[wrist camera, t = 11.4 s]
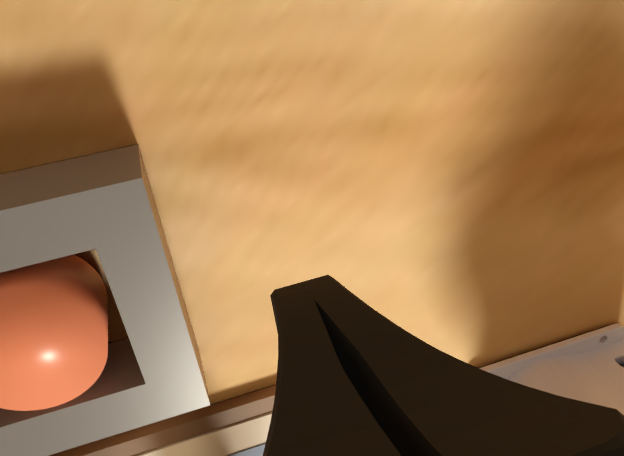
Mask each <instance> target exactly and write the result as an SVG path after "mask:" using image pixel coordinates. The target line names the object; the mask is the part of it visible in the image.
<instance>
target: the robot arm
mask: <svg viewBox="0 0 624 456" xmlns="http://www.w3.org/2000/svg"><path fill="white" fill-rule="evenodd" d="M270 296H271V301H272V306H273V311H274V316H275V321H276V326H277V331H278V369H277V382H276V391H275V398H274V405H273V411H272V416H271V422H270V426H269V431H268V435H267V440H266V444H265V448H264V452H263V456H624V326H622V325H621V324H619V323H617V324H613V325H610V326H607V327H604V328H601V329H598V330H594V331H591V332H588V333H585V334H582V335H579V336H576V337H573V338H570V339H567V340H564V341H561V342H558V343H555V344H552V345H549V346H546V347H543V348H540V349H537V350H534V351H531V352H528V353H525V354H521V355H518V356H515V357H512V358H509V359H506V360H503V361H500V362H497V363H494V364H491V365H488V366H485V367H482V368H476V367H474V366H472V365H470V364H467V363H465V362H463V361H461V360H458V359H456V358H454V357H452V356H450V355H448V354H446V353H444V352H442V351H440V350H438V349H436V348H434V347H432V346H431V345H429V344H427V343H425V342H424V341H422V340H420V339H419V338H417V337H415V336H413V335H412V334H410V333H408V332H407V331H405V330H404V329H402V328H401V327H399V326H397V325H396V324H394V323H393V322H391V321H390V320H389V319H387V318H386V317H384V316H383V315H381V314H380V313H378V312H377V311H375V310H374V309H373V308H371V307H370V306H368V305H367V304H366V303H364V302H363V301H362V300H360V299H359V298H358V297H356V296H355V295H354V294H353V293H351V292H350V291H349V290H347V289H346V288H345V287H344V286H342V285H341V284H340V283H339V282H338V281H336V280H335V279H334V278H332V277H331V276H329V275H326V276H322V277H319V278H315V279H311V280H308V281H304V282H301V283H297V284H294V285H290V286H286V287H283V288H279V289H276V290H274V291H273V293H272V294H271V295H270Z"/></svg>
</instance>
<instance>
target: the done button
mask: <svg viewBox="0 0 624 456" xmlns="http://www.w3.org/2000/svg"><path fill="white" fill-rule="evenodd" d="M107 356H108V296H107V290H106V287H105V284H104V282H103V280H102V278H101V277H100V275H99V274H98V273H97V271H96V270H95V269H94V268H93V267H92V266H91V265H90V264H88V263H87V262H86V261H84V260H83V259H81V258H80V257H78V256H76V255H74V254H73V255H69V256H65V257H61V258H57V259H53V260H49V261H45V262H41V263H37V264H33V265H29V266H25V267H21V268H17V269H13V270H9V271H5V272H1V273H0V408H2V409H7V410H16V411H31V410H41V409H47V408H51V407H55V406H58V405H61V404H64V403H66V402H68V401H70V400H73V399H74V398H76V397H78V396H79V395H81V394H82V393H84V392H85V391H86V390H88V389H89V388H90V387H91V386H92V385H93V384H94V383H95V382H96V380H97V379H98V378H99V376H100V375H101V373H102V371H103V369H104V367H105V364H106V361H107Z"/></svg>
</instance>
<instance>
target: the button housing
mask: <svg viewBox="0 0 624 456" xmlns="http://www.w3.org/2000/svg"><path fill="white" fill-rule="evenodd" d="M93 249H96V251H97V253H98V256H99V259H100V262H101V264H102V267H103V270H104V272H105V275H106V278H107V280H108V283H109V286H110V289H111V291H112V294H113V297H114V299H115V302H116V305H117V307H118V310H119V313H120V316H121V318H122V321H123V324H124V326H125V329H126V332H127V335H128V337H129V338H127V339H123V340H119V341H116V342H112V343H109V344H108V356H107V361H106V364H105V367H104V369H103V371H102V373H101V375H100V376H99V378H98V379H97V380H96V382H95V383H94V384H93V385H92V386H91V387H90V388H89V389H88V390H86V391H85V392H84V393H82V394H81V395H79V396H78V397H76V398H74V399H73V400H70V401H68V402H66V403H64V404H61V405H58V406H55V407H51V408H47V409H41V410H31V411H16V410H7V409H2V408H0V456H49V455H52V454H55V453H58V452H62V451H65V450H68V449H71V448H74V447H78V446H81V445H84V444H87V443H90V442H94V441H97V440H100V439H103V438H106V437H110V436H113V435H116V434H119V433H122V432H126V431H129V430H132V429H135V428H139V427H142V426H145V425H148V424H151V423H155V422H158V421H161V420H164V419H167V418H171V417H174V416H177V415H180V414H183V413H187V412H190V411H193V410H196V409H199V408H203V407H206V406H209V405H210V401H209V396H208V392H207V387H206V382H205V377H204V372H203V367H202V362H201V357H200V353H199V350H198V347H197V343H196V340H195V336H194V333H193V330H192V326H191V323H190V319H189V316H188V313H187V309H186V306H185V302H184V299H183V296H182V292H181V289H180V285H179V282H178V279H177V275H176V272H175V268H174V265H173V262H172V258H171V255H170V251H169V248H168V245H167V241H166V238H165V234H164V231H163V228H162V224H161V221H160V217H159V214H158V211H157V207H156V204H155V200H154V197H153V194H152V190H151V187H150V183H149V180H148V177H147V173H146V170H145V166H144V163H143V160H142V156H141V153H140V149H139V146H138V144H136V145H132V146H127V147H123V148H118V149H114V150H109V151H105V152H100V153H96V154H91V155H87V156H82V157H77V158H73V159H68V160H64V161H59V162H55V163H50V164H46V165H41V166H37V167H32V168H28V169H23V170H19V171H14V172H10V173H5V174H1V175H0V273H1V272H5V271H9V270H13V269H17V268H21V267H25V266H29V265H33V264H37V263H41V262H45V261H49V260H53V259H57V258H61V257H65V256H69V255H73V254H77V253H81V252H85V251H89V250H93Z"/></svg>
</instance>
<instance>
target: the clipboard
mask: <svg viewBox="0 0 624 456" xmlns="http://www.w3.org/2000/svg"><path fill="white" fill-rule="evenodd" d="M275 391H276V385H274V386H271V387H268V388H264V389H261V390H258V391H255V392H252V393H248V394H245V395H242V396H239V397H236V398H232V399H229V400H226V401H223V402H220V403H216V404H213V405H210V406H207V407H204V408H200V409H197V410H194V411H191V412H187V413H184V414H181V415H178V416H175V417H171V418H168V419H165V420H162V421H159V422H155V423H152V424H149V425H146V426H143V427H139V428H136V429H133V430H130V431H127V432H123V433H120V434H117V435H114V436H111V437H107V438H104V439H101V440H98V441H95V442H91V443H88V444H85V445H82V446H78V447H75V448H72V449H69V450H66V451H62V452H59V453H56V454H53V455H50V456H263V452H264V448H265V444H266V440H267V435H268V431H269V426H270V422H271V416H272V411H273V405H274V398H275Z"/></svg>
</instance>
